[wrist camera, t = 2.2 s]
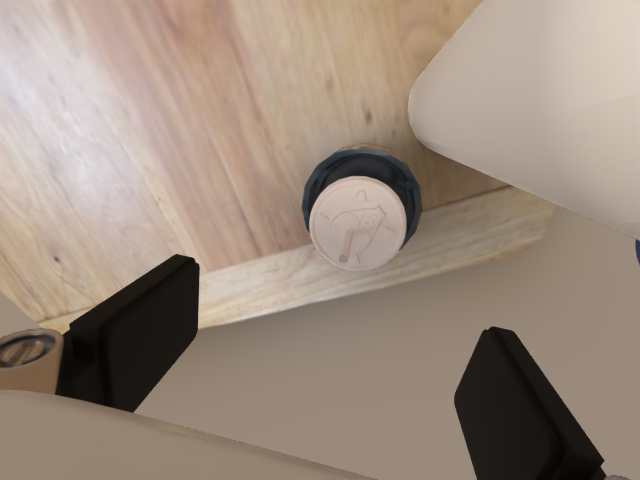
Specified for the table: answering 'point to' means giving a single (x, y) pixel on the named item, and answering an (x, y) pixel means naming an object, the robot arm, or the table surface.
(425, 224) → the table surface
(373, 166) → the bowl
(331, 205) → the smoothie
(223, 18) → the table surface
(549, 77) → the bottle
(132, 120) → the table surface
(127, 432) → the robot arm
